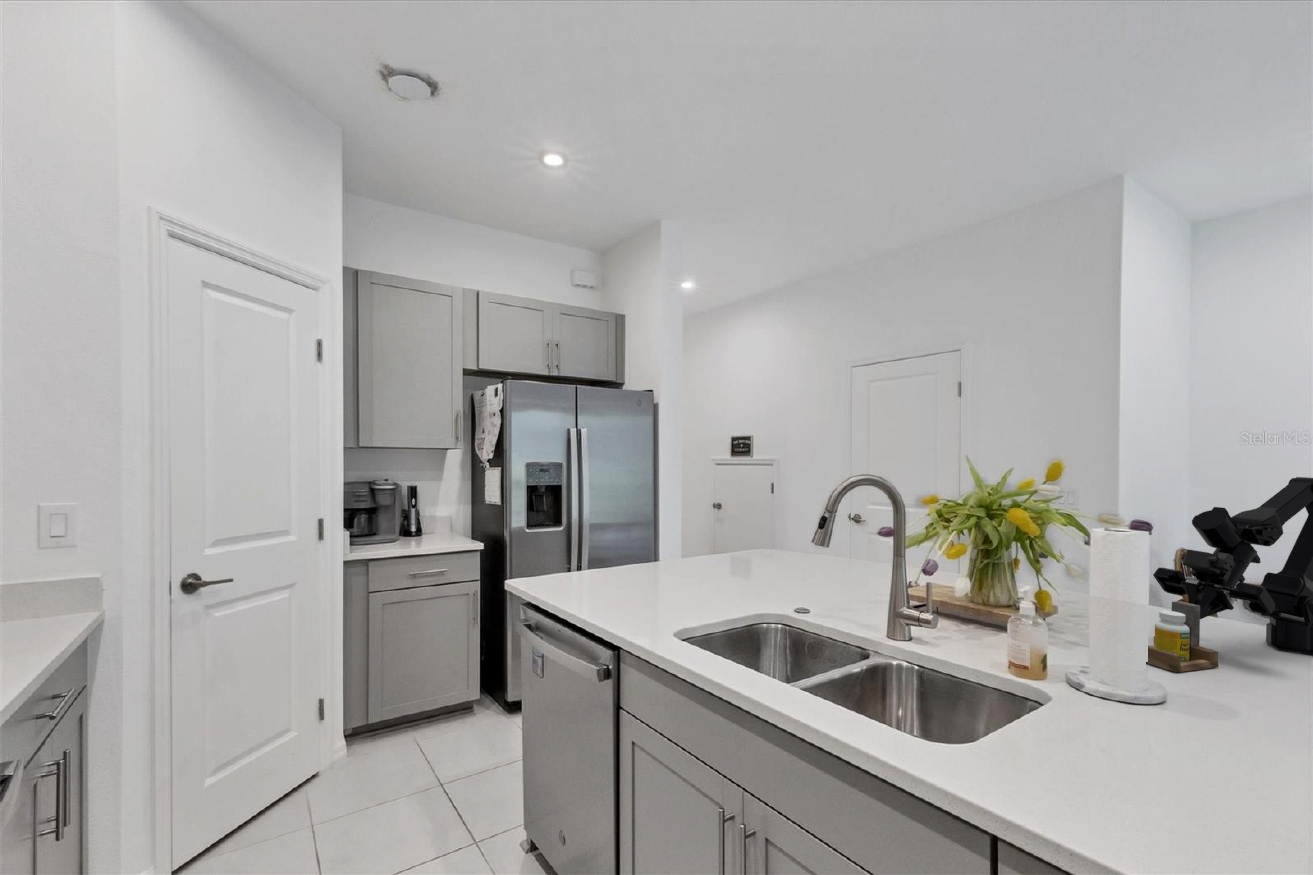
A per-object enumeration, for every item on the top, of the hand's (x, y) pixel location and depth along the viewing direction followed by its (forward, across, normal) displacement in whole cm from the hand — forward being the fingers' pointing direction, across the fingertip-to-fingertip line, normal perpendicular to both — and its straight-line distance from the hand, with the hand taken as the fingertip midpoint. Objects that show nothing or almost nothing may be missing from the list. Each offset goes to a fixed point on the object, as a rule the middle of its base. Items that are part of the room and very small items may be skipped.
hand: (1190, 620), depth 124 cm
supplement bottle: (+9, 0, +2) cm, 10 cm away
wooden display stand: (+10, 0, +1) cm, 10 cm away
